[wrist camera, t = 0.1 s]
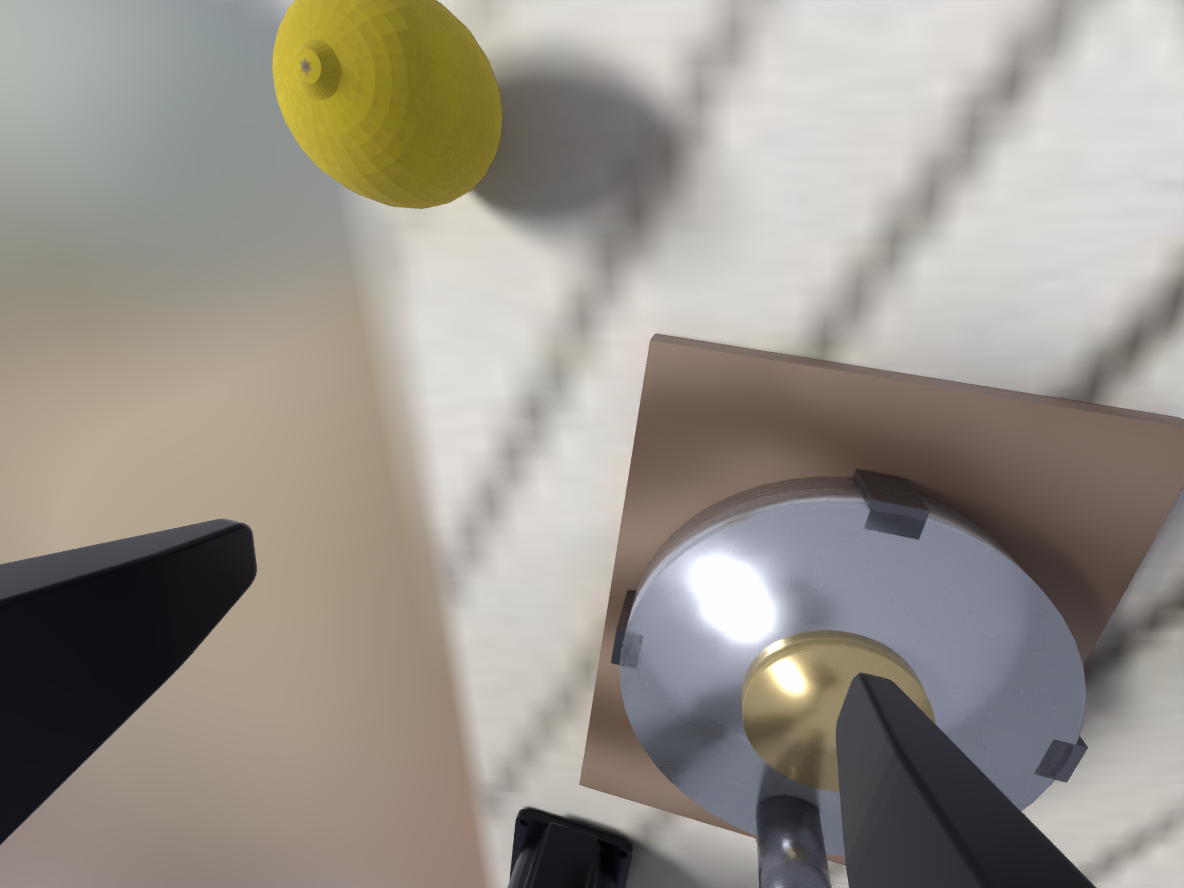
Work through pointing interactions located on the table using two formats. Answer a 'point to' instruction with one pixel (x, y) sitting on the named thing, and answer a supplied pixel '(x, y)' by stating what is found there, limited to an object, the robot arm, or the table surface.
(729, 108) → the table surface
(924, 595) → the notched round platform
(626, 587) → the base plate
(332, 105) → the lemon
